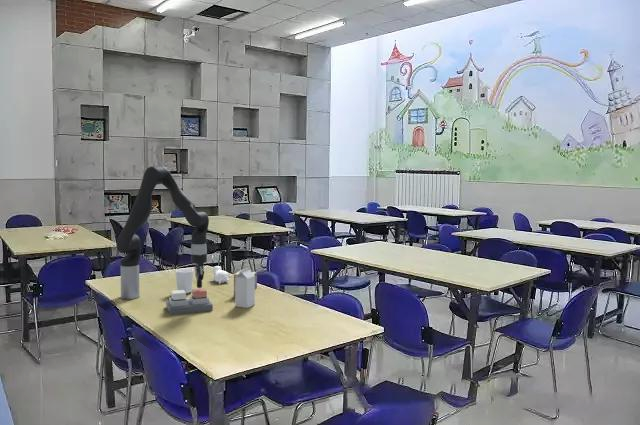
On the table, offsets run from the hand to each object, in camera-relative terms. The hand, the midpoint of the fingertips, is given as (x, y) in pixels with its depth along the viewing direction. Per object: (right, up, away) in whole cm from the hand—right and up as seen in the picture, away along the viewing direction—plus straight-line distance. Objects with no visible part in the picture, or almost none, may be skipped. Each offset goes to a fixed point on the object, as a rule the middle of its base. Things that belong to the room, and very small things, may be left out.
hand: (199, 287), depth 257 cm
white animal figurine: (-1, -5, +58) cm, 58 cm away
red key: (0, -4, +1) cm, 4 cm away
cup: (-15, -8, +29) cm, 34 cm away
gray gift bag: (+18, -8, +34) cm, 40 cm away
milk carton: (+22, -10, +6) cm, 25 cm away
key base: (-5, -10, -1) cm, 11 cm away
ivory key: (-9, -5, -3) cm, 11 cm away
